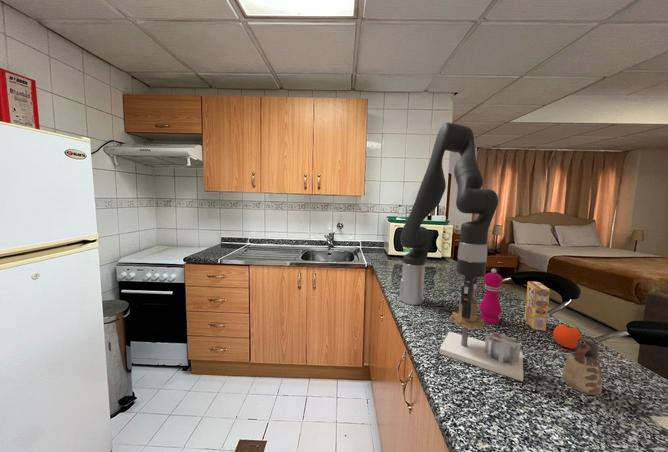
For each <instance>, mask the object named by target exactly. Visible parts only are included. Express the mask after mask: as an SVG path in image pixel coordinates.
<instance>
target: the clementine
mask: <svg viewBox="0 0 668 452" xmlns="http://www.w3.org/2000/svg"><path fill="white" fill-rule="evenodd" d="M553 338H554V340H555V341H556V342H557V343H558V344H559V345H560V346H562V347H563V348H566V349H577V340H578V339H580V338H583V335H582V333H581V332H580V328H578V327H577V326H575V325H574V324H573V325H572V324H559V325H557V326H556V327H555V328H554V330H553Z"/></svg>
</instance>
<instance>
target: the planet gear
mask: <svg viewBox="0 0 668 452" xmlns="http://www.w3.org/2000/svg"><path fill="white" fill-rule="evenodd" d="M464 301H468V302H469V300H468V299H465V300H464ZM458 302H459V305H458V312H456V311H452V313H451V314H450V319H449V322H451V323H454V324H455V326H456V327H459V328H460V327H462V328H464V327H466V328H468V331H469V330H471V331H474V330H476V329H478V330H483V329H484V326H485V322H484V319H480V317H479V316H478V301H475V299H474V300H472V306H471V315H470V319H467V318H463V317H462V305H461V298H460V299H459V301H458Z"/></svg>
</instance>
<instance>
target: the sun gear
mask: <svg viewBox="0 0 668 452" xmlns="http://www.w3.org/2000/svg"><path fill="white" fill-rule="evenodd" d="M517 340H518V339H517V338H515V337H510V336H507V334H505V333H500V334H499V333H495V332H493V331H492V332H490V334H486V335H485V342H486V343H485V353H488V354H487V357H488V358H489V359H494V360H496V361H498V363H500V364H503V363H507V364H510V365H511V366H514V365H515V362H518V363H519V355H520V352H521V346H522V345H521V343H519V342H518V341H517Z"/></svg>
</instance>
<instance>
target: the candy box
mask: <svg viewBox="0 0 668 452" xmlns="http://www.w3.org/2000/svg"><path fill="white" fill-rule="evenodd" d="M550 292H551V289H550V288H548V286H546V285H544V284H543V283H541V282H539V281H531V280H530V281H529V280H528V281H527V288H526V297H525V298H526V299H525V307H524V308H525V309H524V320H525V322H526V323H527V324H528V325H529V326H530V328H532V330H536V331H544V332H546V331H547V321H548V313H549V312H548V311H549V302H550Z"/></svg>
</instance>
